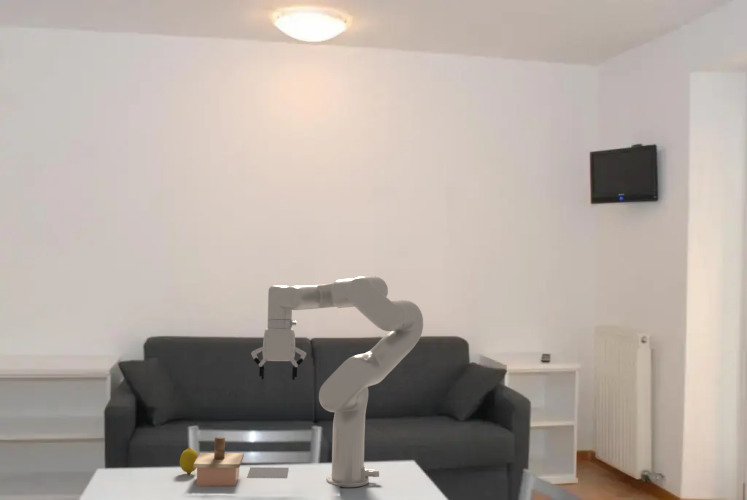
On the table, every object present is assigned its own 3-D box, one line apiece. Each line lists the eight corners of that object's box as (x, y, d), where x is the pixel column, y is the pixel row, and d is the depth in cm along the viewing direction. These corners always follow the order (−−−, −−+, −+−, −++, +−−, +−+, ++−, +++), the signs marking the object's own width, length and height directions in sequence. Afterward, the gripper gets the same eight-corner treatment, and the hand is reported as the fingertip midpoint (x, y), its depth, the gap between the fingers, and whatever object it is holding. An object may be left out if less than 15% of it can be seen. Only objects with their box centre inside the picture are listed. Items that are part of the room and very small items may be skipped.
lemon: (193, 477, 239) (194, 450, 239) (176, 475, 240) (177, 449, 240) (201, 472, 244) (201, 446, 244) (184, 471, 245) (185, 445, 245)
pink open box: (239, 477, 240) (239, 457, 240) (235, 487, 229) (235, 466, 229) (202, 477, 239) (202, 457, 239) (196, 487, 228) (197, 466, 228)
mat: (288, 469, 250) (288, 467, 250) (287, 480, 238) (287, 478, 238) (250, 469, 249) (250, 467, 249) (246, 479, 237) (246, 477, 237)
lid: (243, 456, 241) (244, 433, 241) (239, 467, 228) (239, 443, 228) (200, 456, 240) (200, 433, 240) (193, 467, 227) (194, 442, 227)
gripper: (307, 324, 255) (305, 377, 255) (252, 323, 254) (251, 377, 253) (306, 326, 247) (305, 381, 247) (250, 325, 246) (249, 380, 246)
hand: (278, 379), depth 250 cm, fingers open, 9 cm apart
